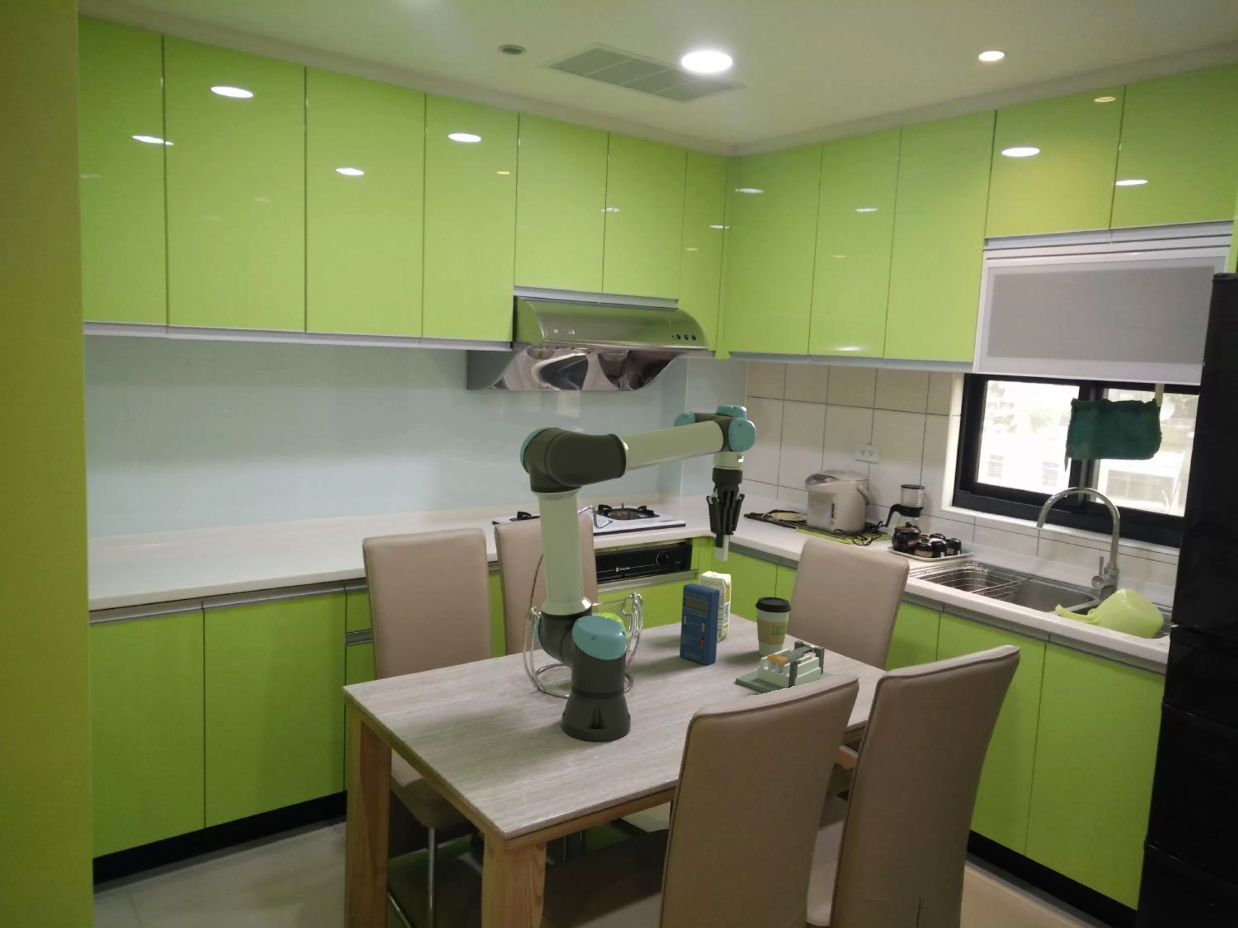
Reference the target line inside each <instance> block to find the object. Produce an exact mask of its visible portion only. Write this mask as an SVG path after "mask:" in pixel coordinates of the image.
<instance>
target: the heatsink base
mask: <svg viewBox="0 0 1238 928" xmlns="http://www.w3.org/2000/svg"><path fill="white" fill-rule="evenodd" d="M802 644H804V641H803V640H799V639H798V640H796V641H794V645H793V647H794V648H793V650H795V649H798V648H801V645H802ZM816 647H817V648H816V653H814V654H815V657H813V658H812V655H810V654H807V655H805V654H804V655H801V656H799V657H796V658H793V659H791V660H788V661H787V662H786V663H783V664H778V663H774V662H771V661H768V660H767V656H763V657H761V658H760V665H759V666H757V669H756V670H753V671H751V672H749V673H746V674H744V675H741V676H738V677H736V678H735V683H737V684H739V685H742V686H745V687H748V688H751V689H753V690H756V691H760V692H763V693H765V694H767V693H766V692H771V691H775V690H780V689H783V688H790V687H792V686H798V685H801V684H804V683H809V682H813V681H816V680H820V679H824V678H826V677H830V676H834V675H835V674H832V673H830V672H826V671H824V664H825V649H826V648H825V647H824V646H816ZM790 651H791V649H790V648H785V649H784V648H783V649H782V651H779V652H776V653H774V654H776V655H781V654H784V653H787V652H790ZM771 655H772V654H771ZM768 656H769V655H768Z"/></svg>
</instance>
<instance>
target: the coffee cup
mask: <svg viewBox="0 0 1238 928" xmlns="http://www.w3.org/2000/svg"><path fill="white" fill-rule="evenodd" d="M755 608H756V625H757V626H756V628H757V640H758V653H759V654H760V655H761V656H763V657H766V656H768V655H771V654H774V653H776V652H779V651H782V650H783V649H784V643H785V641H786V640H785V639H786V635H787V629H788V624H789V615H790V612H791V611H792V607H791V604H790V601H789V600H787V599H785V598H782V597H776V596H763V597H759V598H758V599H757V602H756V603H755Z"/></svg>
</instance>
